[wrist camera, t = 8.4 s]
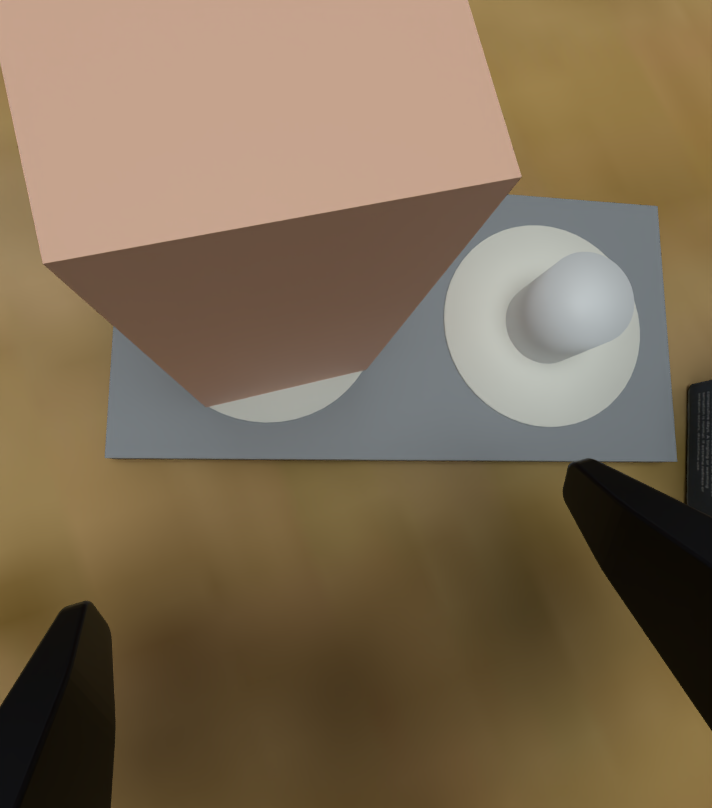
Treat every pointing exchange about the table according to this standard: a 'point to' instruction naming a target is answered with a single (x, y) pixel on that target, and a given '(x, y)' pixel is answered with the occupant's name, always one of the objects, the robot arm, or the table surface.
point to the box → (700, 447)
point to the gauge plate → (463, 362)
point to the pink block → (254, 172)
